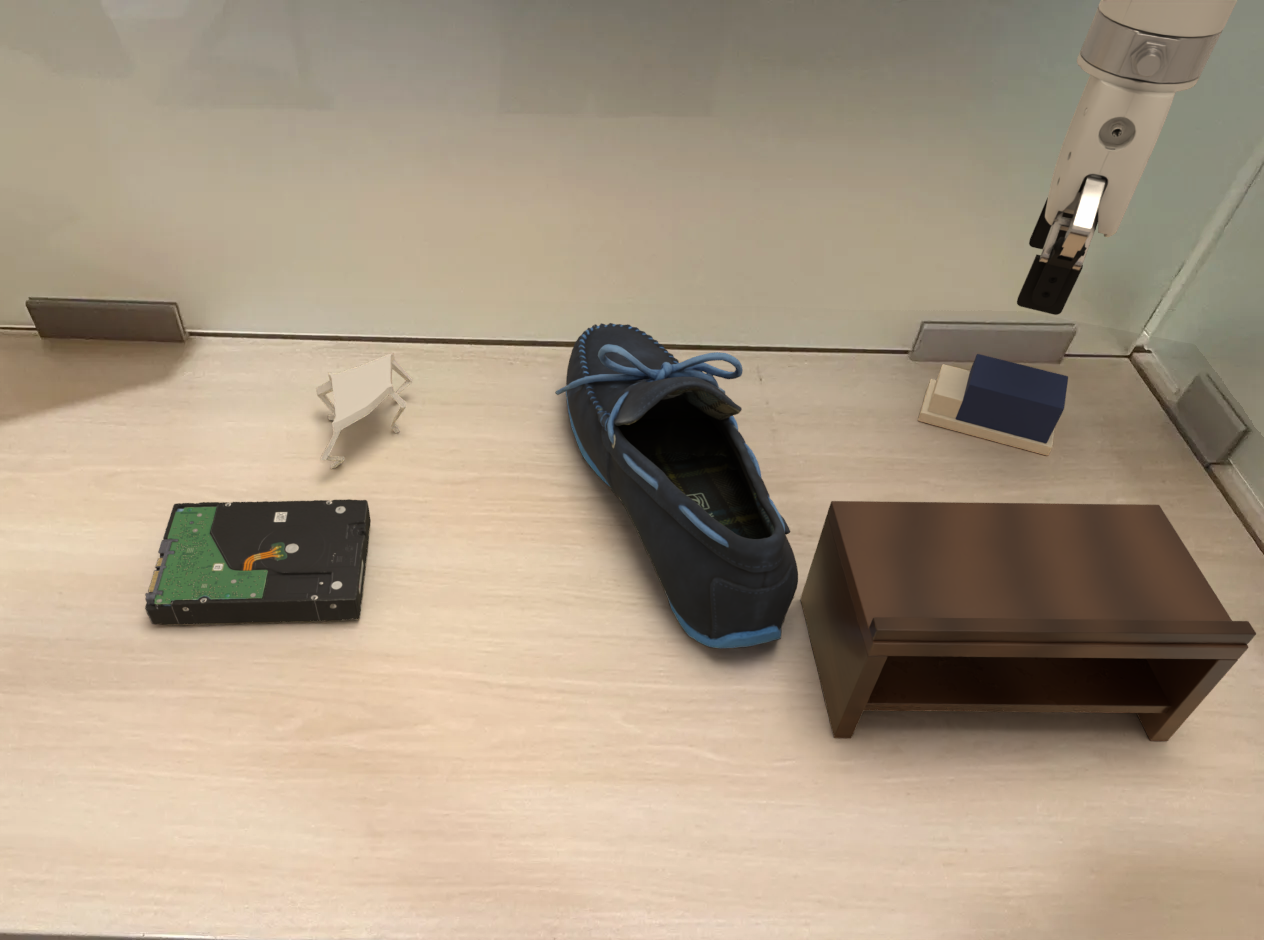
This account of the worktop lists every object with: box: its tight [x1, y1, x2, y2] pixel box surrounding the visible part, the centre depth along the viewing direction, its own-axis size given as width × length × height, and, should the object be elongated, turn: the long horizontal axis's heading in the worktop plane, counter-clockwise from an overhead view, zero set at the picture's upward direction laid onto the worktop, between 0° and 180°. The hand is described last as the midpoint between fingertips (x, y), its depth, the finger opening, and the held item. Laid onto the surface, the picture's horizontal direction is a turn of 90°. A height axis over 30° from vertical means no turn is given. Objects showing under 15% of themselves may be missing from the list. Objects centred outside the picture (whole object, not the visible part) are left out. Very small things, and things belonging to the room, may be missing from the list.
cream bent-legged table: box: [315, 352, 414, 470], centre depth 82 cm, size 12×8×5 cm
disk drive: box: [144, 498, 372, 626], centre depth 72 cm, size 10×3×15 cm
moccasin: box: [555, 322, 799, 649], centre depth 75 cm, size 14×34×12 cm, turn 21°
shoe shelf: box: [800, 500, 1257, 742], centre depth 64 cm, size 22×12×11 cm, turn 90°
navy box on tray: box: [917, 353, 1069, 456], centre depth 85 cm, size 11×6×5 cm, turn 66°
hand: (1043, 277), depth 77 cm, fingers open, 9 cm apart
